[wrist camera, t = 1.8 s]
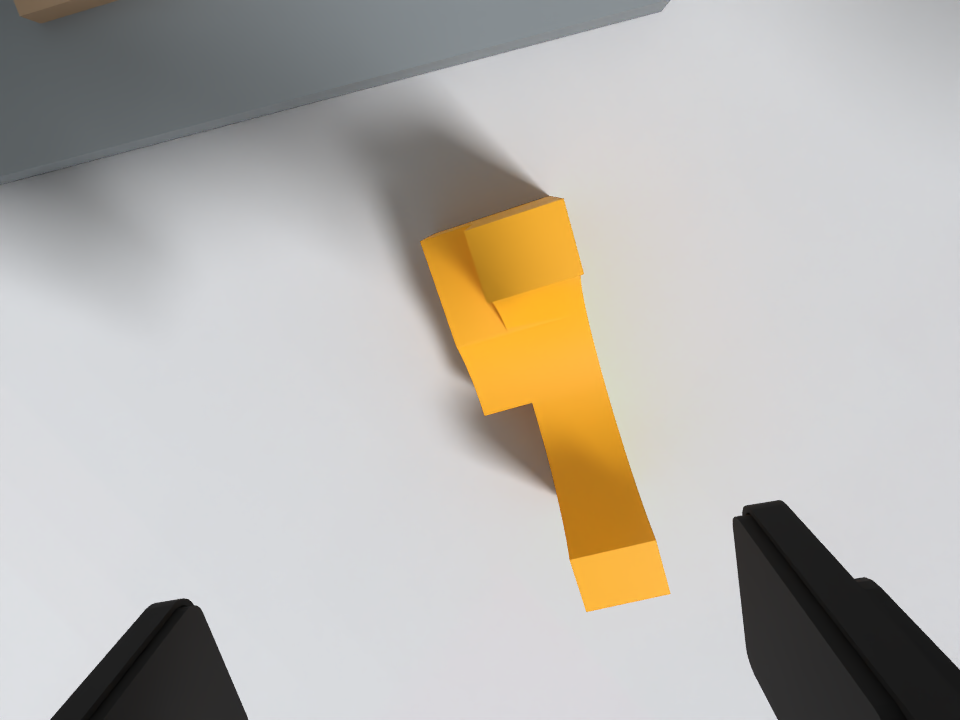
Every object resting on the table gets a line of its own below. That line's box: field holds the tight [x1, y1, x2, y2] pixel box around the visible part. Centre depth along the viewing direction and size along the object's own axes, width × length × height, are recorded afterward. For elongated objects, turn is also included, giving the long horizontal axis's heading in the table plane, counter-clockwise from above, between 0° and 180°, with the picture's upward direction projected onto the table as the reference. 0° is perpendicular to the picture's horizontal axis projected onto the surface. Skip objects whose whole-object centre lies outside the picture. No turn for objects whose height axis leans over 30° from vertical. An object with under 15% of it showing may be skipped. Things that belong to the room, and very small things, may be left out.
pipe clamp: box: [420, 196, 670, 612], centre depth 19 cm, size 12×4×6 cm, turn 18°
